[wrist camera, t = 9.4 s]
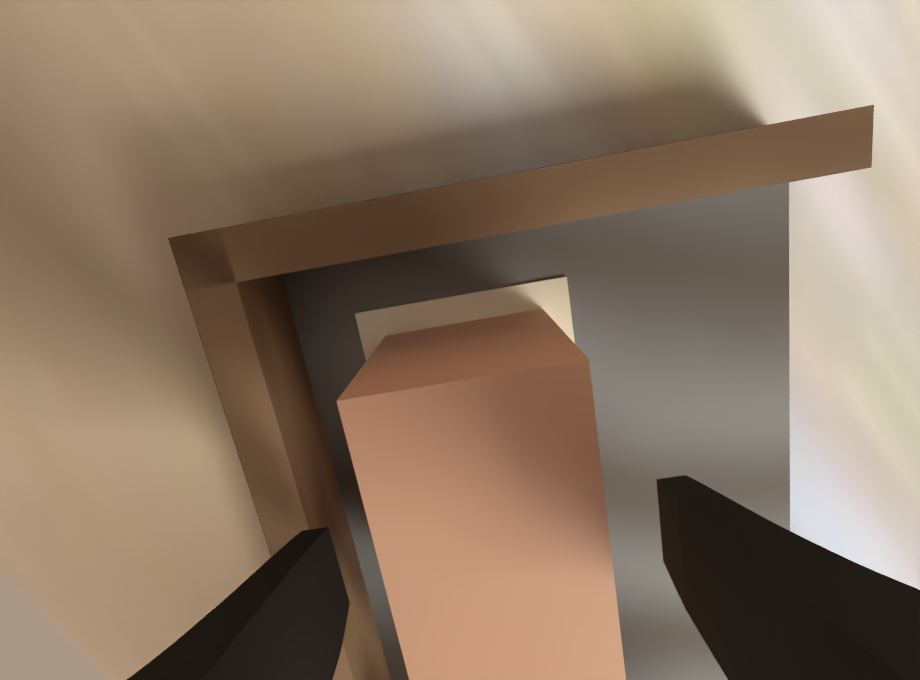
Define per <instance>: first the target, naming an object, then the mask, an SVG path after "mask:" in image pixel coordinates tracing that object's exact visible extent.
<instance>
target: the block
mask: <svg viewBox="0 0 920 680" xmlns="http://www.w3.org/2000/svg"><path fill="white" fill-rule="evenodd" d="M337 405H338V409H339V413H340V417H341V421H342V424H343V428H344V432H345V436H346V440H347V444H348V447H349V451H350V455H351V459H352V463H353V467H354V470H355V474H356V478H357V482H358V486H359V489H360V493H361V497H362V501H363V505H364V509H365V512H366V516H367V520H368V524H369V528H370V532H371V535H372V539H373V543H374V547H375V551H376V555H377V558H378V562H379V566H380V570H381V574H382V578H383V581H384V585H385V589H386V593H387V597H388V600H389V604H390V608H391V612H392V616H393V620H394V623H395V627H396V631H397V635H398V639H399V643H400V646H401V650H402V654H403V658H404V662H405V666H406V669H407V673H408V677H409V680H626V675H625V666H624V657H623V649H622V640H621V631H620V623H619V614H618V606H617V597H616V588H615V580H614V571H613V562H612V554H611V545H610V537H609V528H608V519H607V511H606V502H605V493H604V485H603V476H602V467H601V459H600V450H599V442H598V433H597V424H596V416H595V407H594V398H593V390H592V381H591V372H590V364H589V359H588V358H587V357H586V356H585V355H584V353H583V352H582V351H581V350H580V349H579V348H578V347H577V346H576V345H575V344H574V342H573V341H572V340H571V339H570V338H569V337H568V336H567V335H566V334H565V333H564V331H563V330H562V329H561V328H560V327H559V326H558V325H557V324H556V323H555V322H554V320H553V319H552V318H551V317H550V316H549V315H548V314H547V313H546V312H545V311H544V309H537V310H531V311H525V312H520V313H514V314H508V315H502V316H496V317H491V318H485V319H479V320H473V321H467V322H462V323H456V324H450V325H444V326H438V327H433V328H427V329H421V330H415V331H409V332H404V333H398V334H392V335H386V336H385V337H384V339H383V340H382V341H381V343H380V344H379V345H378V347H377V348H376V349H375V351H374V352H373V353H372V355H371V356H370V357H369V358H368V360H367V361H366V362H365V364H364V365H363V366H362V368H361V369H360V370H359V372H358V373H357V374H356V376H355V377H354V378H353V380H352V381H351V382H350V384H349V385H348V386H347V388H346V389H345V390H344V392H343V393H342V394H341V396H340V397H339V398H338V400H337Z"/></svg>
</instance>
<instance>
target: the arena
mask: <svg viewBox="0 0 920 680" xmlns="http://www.w3.org/2000/svg"><path fill="white" fill-rule="evenodd" d="M873 112H874V105H871V106H865V107H860V108H855V109H849V110H844V111H839V112H834V113H828V114H823V115H818V116H812V117H807V118H802V119H797V120H791V121H786V122H781V123H775V124H770V125H765V126H759V127H754V128H749V129H744V130H738V131H733V132H728V133H722V134H717V135H712V136H707V137H701V138H696V139H691V140H685V141H680V142H675V143H670V144H664V145H659V146H654V147H648V148H643V149H638V150H632V151H627V152H622V153H617V154H611V155H606V156H601V157H595V158H590V159H585V160H580V161H574V162H569V163H564V164H558V165H553V166H548V167H542V168H537V169H532V170H527V171H521V172H516V173H511V174H505V175H500V176H495V177H490V178H484V179H479V180H474V181H468V182H463V183H458V184H453V185H447V186H442V187H437V188H431V189H426V190H421V191H415V192H410V193H405V194H400V195H394V196H389V197H384V198H378V199H373V200H368V201H363V202H357V203H352V204H347V205H341V206H336V207H331V208H325V209H320V210H315V211H310V212H304V213H299V214H294V215H288V216H283V217H278V218H273V219H267V220H262V221H257V222H251V223H246V224H241V225H236V226H230V227H225V228H220V229H214V230H209V231H204V232H198V233H193V234H188V235H183V236H177V237H172V238H168V239H169V242H170V245H171V248H172V251H173V255H174V258H175V261H176V264H177V267H178V270H179V273H180V276H181V279H182V282H183V285H184V288H185V292H186V295H187V298H188V301H189V304H190V307H191V310H192V313H193V316H194V319H195V322H196V325H197V329H198V332H199V335H200V338H201V341H202V344H203V347H204V350H205V353H206V356H207V359H208V362H209V366H210V369H211V372H212V375H213V378H214V381H215V384H216V387H217V390H218V393H219V396H220V399H221V403H222V406H223V409H224V412H225V415H226V418H227V421H228V424H229V427H230V430H231V433H232V436H233V440H234V443H235V446H236V449H237V452H238V455H239V458H240V461H241V464H242V467H243V470H244V473H245V477H246V480H247V483H248V486H249V489H250V492H251V495H252V498H253V501H254V504H255V507H256V510H257V514H258V517H259V520H260V523H261V526H262V529H263V532H264V535H265V538H266V541H267V544H268V547H269V551H270V554H271V557H272V556H273V555H274V554H275V553H276V552H278V551H279V550H280V549H281V548H282V547H283V546H284V545H285V544H287V543H288V542H289V541H290V540H291V539H292V538H294V537H295V536H296V535H297V534H299V533H300V532H301V531H304V530H310V529H317V528H324V527H329V531H330V534H331V538H332V541H333V545H334V548H335V552H336V556H337V559H338V563H339V566H340V570H341V573H342V577H343V580H344V584H345V588H346V591H347V595H348V598H349V602H350V605H349V611H348V617H347V622H346V628H345V633H344V638H343V643H342V648H341V653H340V656H339V660H338V663H337V666H336V670H335V673H334V676H333V679H332V680H409V677H408V673H407V669H406V666H405V662H404V658H403V654H402V650H401V646H400V643H399V639H398V635H397V631H396V627H395V623H394V620H393V616H392V612H391V608H390V604H389V600H388V597H387V593H386V589H385V585H384V581H383V578H382V574H381V570H380V566H379V562H378V558H377V555H376V551H375V547H374V543H373V539H372V535H371V532H370V528H369V524H368V520H367V516H366V512H365V509H364V505H363V501H362V497H361V493H360V489H359V486H358V482H357V478H356V474H355V470H354V467H353V463H352V459H351V455H350V451H349V447H348V444H347V440H346V436H345V432H344V428H343V424H342V421H341V417H340V413H339V409H338V405H337V400H338V398H339V397H340V396H341V394H342V393H343V392H344V390H345V389H346V388H347V386H348V385H349V384H350V382H351V381H352V380H353V378H354V377H355V376H356V374H357V373H358V372H359V370H360V369H361V368H362V366H363V365H364V364H365V362H366V361H367V360H368V358H369V357H370V356H371V355H372V353H373V352H374V351H375V349H376V348H377V347H378V345H379V344H380V343H381V341H382V340H383V339H384V337H385V336H386V335H392V334H398V333H404V332H409V331H415V330H421V329H427V328H433V327H438V326H444V325H450V324H456V323H462V322H467V321H473V320H479V319H485V318H491V317H496V316H502V315H508V314H514V313H520V312H525V311H531V310H537V309H544V311H545V312H546V313H547V314H548V315H549V316H550V317H551V318H552V319H553V320H554V322H555V323H556V324H557V325H558V326H559V327H560V328H561V329H562V330H563V331H564V333H565V334H566V335H567V336H568V337H569V338H570V339H571V340H572V341H573V342H574V344H575V345H576V346H577V347H578V348H579V349H580V350H581V351H582V352H583V353H584V355H585V356H586V357H587V358H588V359H589V364H590V372H591V381H592V390H593V398H594V407H595V416H596V424H597V433H598V442H599V450H600V459H601V467H602V476H603V485H604V493H605V502H606V511H607V519H608V528H609V537H610V545H611V554H612V562H613V571H614V580H615V588H616V597H617V606H618V614H619V623H620V631H621V640H622V649H623V657H624V666H625V675H626V680H728V679H727V677H726V676H725V674H724V672H723V671H722V669H721V667H720V666H719V664H718V662H717V661H716V659H715V658H714V656H713V654H712V653H711V651H710V649H709V648H708V646H707V644H706V643H705V641H704V639H703V638H702V636H701V634H700V633H699V631H698V629H697V628H696V626H695V624H694V623H693V621H692V619H691V618H690V616H689V614H688V613H687V611H686V609H685V607H684V605H683V603H682V601H681V599H680V597H679V595H678V592H677V590H676V588H675V586H674V584H673V582H672V579H671V577H670V575H669V573H668V571H667V568H666V566H665V564H664V562H663V553H662V541H661V529H660V517H659V505H658V493H657V481H656V479H662V478H669V477H676V476H683V475H686V476H689V477H691V478H693V479H695V480H696V481H698V482H700V483H702V484H704V485H706V486H708V487H709V488H711V489H713V490H715V491H717V492H718V493H720V494H722V495H724V496H726V497H727V498H729V499H731V500H733V501H735V502H736V503H738V504H740V505H742V506H744V507H745V508H747V509H749V510H751V511H753V512H755V513H756V514H758V515H760V516H762V517H764V518H766V519H768V520H770V521H771V522H773V523H775V524H777V525H779V526H781V527H783V528H785V529H787V530H789V531H790V451H789V182H793V181H798V180H804V179H810V178H815V177H821V176H826V175H832V174H837V173H843V172H848V171H854V170H859V169H865V168H870V167H871V164H872V138H873Z"/></svg>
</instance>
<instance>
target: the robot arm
mask: <svg viewBox="0 0 920 680" xmlns="http://www.w3.org/2000/svg"><path fill="white" fill-rule="evenodd" d="M656 481H657V493H658V505H659V517H660V529H661V541H662V553H663V562H664V564H665V566H666V568H667V571H668V573H669V575H670V577H671V579H672V582H673V584H674V586H675V588H676V590H677V592H678V595H679V597H680V599H681V601H682V603H683V605H684V607H685V609H686V611H687V613H688V614H689V616H690V618H691V619H692V621H693V623H694V624H695V626H696V628H697V629H698V631H699V633H700V634H701V636H702V638H703V639H704V641H705V643H706V644H707V646H708V648H709V649H710V651H711V653H712V654H713V656H714V658H715V659H716V661H717V662H718V664H719V666H720V667H721V669H722V671H723V672H724V674H725V676H726V677H727V679H728V680H920V590H918V589H916V588H914V587H911V586H909V585H906V584H904V583H902V582H899V581H897V580H894V579H892V578H889V577H887V576H885V575H882V574H880V573H877V572H875V571H873V570H870V569H868V568H866V567H864V566H861V565H859V564H857V563H855V562H852V561H850V560H848V559H846V558H844V557H842V556H840V555H838V554H836V553H833V552H831V551H829V550H827V549H825V548H823V547H821V546H819V545H817V544H815V543H813V542H810V541H808V540H806V539H804V538H802V537H800V536H798V535H796V534H795V533H793V532H791V531H789V530H787V529H785V528H783V527H781V526H779V525H777V524H775V523H773V522H771V521H770V520H768V519H766V518H764V517H762V516H760V515H758V514H756V513H755V512H753V511H751V510H749V509H747V508H745V507H744V506H742V505H740V504H738V503H736V502H735V501H733V500H731V499H729V498H727V497H726V496H724V495H722V494H720V493H718V492H717V491H715V490H713V489H711V488H709V487H708V486H706V485H704V484H702V483H700V482H698V481H696V480H695V479H693V478H691V477H689V476H686V475H683V476H676V477H669V478H662V479H656ZM349 605H350V602H349V598H348V595H347V591H346V588H345V584H344V580H343V577H342V573H341V570H340V566H339V563H338V559H337V556H336V552H335V548H334V545H333V541H332V538H331V534H330V531H329V527H324V528H317V529H310V530H304V531H301V532H300V533H299V534H297V535H296V536H295V537H294V538H292V539H291V540H290V541H289V542H288V543H287V544H285V545H284V546H283V547H282V548H281V549H280V550H279V551H278V552H276V553H275V554H274V555H273V556H272V557H271V558H270V559H269V560H268V561H267V562H266V563H264V564H263V565H262V566H261V567H260V568H259V569H258V570H257V571H256V572H255V573H254V574H252V575H251V576H250V577H249V578H248V579H247V580H246V581H245V582H244V583H243V584H241V585H240V586H239V587H238V588H237V589H236V590H235V591H234V592H233V593H232V594H230V595H229V596H228V597H227V598H226V599H225V600H224V601H223V602H222V603H220V604H219V605H218V606H217V607H216V608H215V609H213V610H212V611H211V612H210V613H209V614H207V615H206V616H205V617H204V618H203V619H202V620H200V621H199V622H198V623H197V624H196V625H195V626H193V627H192V628H191V629H190V630H189V631H188V632H186V633H185V634H184V635H183V636H182V637H181V638H179V639H178V640H177V641H176V642H175V643H173V644H172V645H171V646H170V647H168V648H167V649H166V650H165V651H164V652H162V653H161V654H160V655H158V656H157V657H156V658H155V659H153V660H152V661H151V662H150V663H148V664H147V665H146V666H144V667H143V668H142V669H140V670H139V671H138V672H136V673H135V674H134V675H132V676H131V677H130V678H128V679H127V680H332V679H333V676H334V673H335V670H336V666H337V663H338V660H339V656H340V653H341V648H342V643H343V638H344V633H345V628H346V622H347V617H348V611H349Z"/></svg>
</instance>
